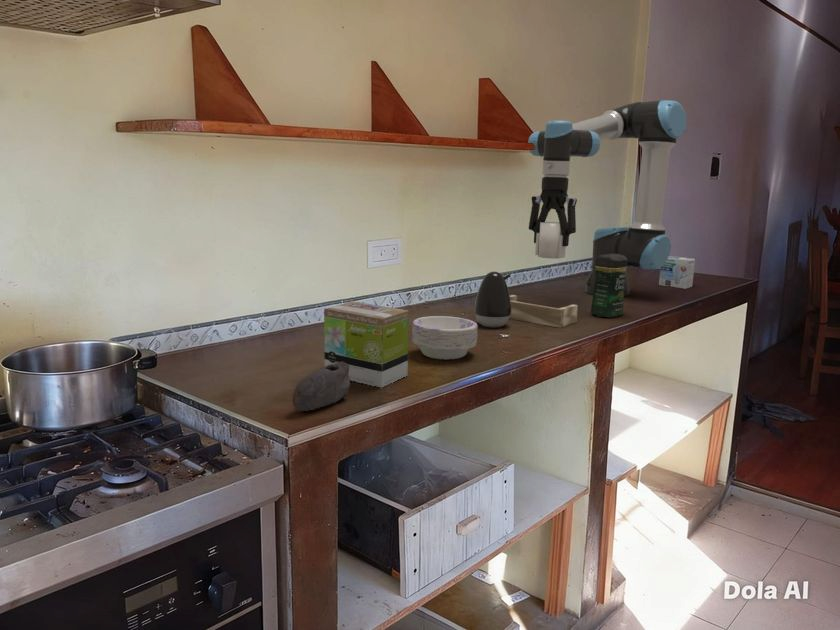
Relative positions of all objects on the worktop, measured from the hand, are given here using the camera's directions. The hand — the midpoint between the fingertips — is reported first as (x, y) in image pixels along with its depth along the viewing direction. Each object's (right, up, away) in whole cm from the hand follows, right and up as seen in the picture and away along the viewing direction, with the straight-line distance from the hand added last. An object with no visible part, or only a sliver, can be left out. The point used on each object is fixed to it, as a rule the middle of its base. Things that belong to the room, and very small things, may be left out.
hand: (549, 256), depth 206 cm
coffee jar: (+18, -18, +5) cm, 26 cm away
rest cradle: (-5, -18, -2) cm, 19 cm away
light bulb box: (+59, -7, +59) cm, 84 cm away
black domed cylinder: (-18, -20, -11) cm, 29 cm away
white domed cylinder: (0, 0, 0) cm, 0 cm away
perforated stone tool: (-56, -34, -77) cm, 101 cm away
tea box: (-49, -31, -59) cm, 83 cm away
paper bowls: (-33, -27, -41) cm, 59 cm away
